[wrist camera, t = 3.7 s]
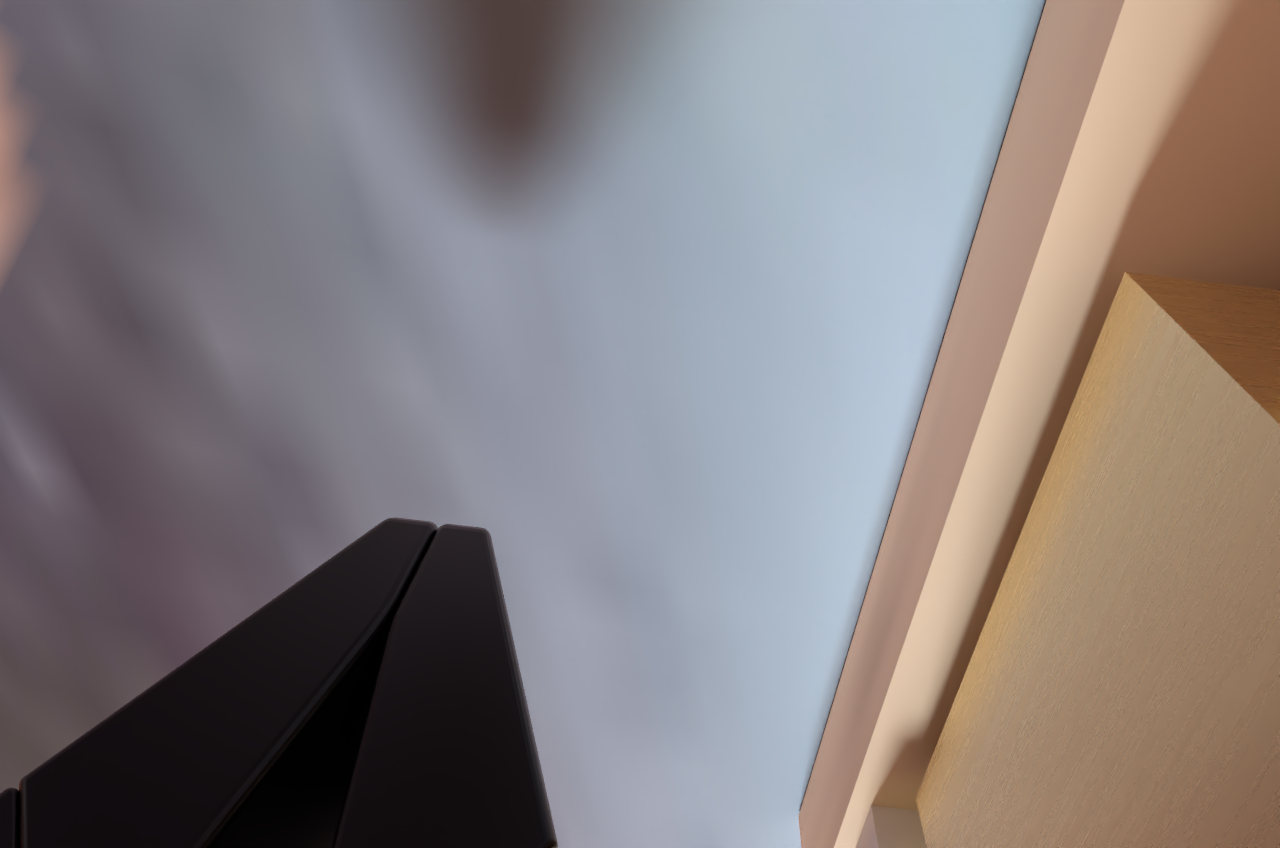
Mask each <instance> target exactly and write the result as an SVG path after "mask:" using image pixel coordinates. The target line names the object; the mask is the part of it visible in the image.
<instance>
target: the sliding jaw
mask: <svg viewBox="0 0 1280 848" xmlns="http://www.w3.org/2000/svg"><path fill="white" fill-rule="evenodd" d="M916 802H917V807H918V811H919V816H920V820H921V824H922V829H923V833H924V838H925V842H926V846H927V848H1280V291H1279V290H1271V289H1263V288H1255V287H1247V286H1238V285H1230V284H1222V283H1214V282H1206V281H1197V280H1189V279H1181V278H1173V277H1165V276H1157V275H1148V274H1140V273H1132V272H1125V273H1124V275H1123V278H1122V280H1121V283H1120V285H1119V288H1118V290H1117V293H1116V295H1115V298H1114V300H1113V303H1112V305H1111V308H1110V310H1109V313H1108V315H1107V318H1106V320H1105V323H1104V325H1103V328H1102V330H1101V333H1100V336H1099V338H1098V341H1097V343H1096V346H1095V348H1094V351H1093V353H1092V356H1091V358H1090V361H1089V363H1088V366H1087V368H1086V371H1085V373H1084V376H1083V378H1082V381H1081V383H1080V386H1079V388H1078V391H1077V393H1076V396H1075V398H1074V401H1073V403H1072V406H1071V408H1070V411H1069V413H1068V416H1067V418H1066V421H1065V423H1064V426H1063V429H1062V431H1061V434H1060V436H1059V439H1058V441H1057V444H1056V446H1055V449H1054V451H1053V454H1052V456H1051V459H1050V461H1049V464H1048V466H1047V469H1046V471H1045V474H1044V476H1043V479H1042V481H1041V484H1040V486H1039V489H1038V491H1037V494H1036V496H1035V499H1034V501H1033V504H1032V506H1031V509H1030V511H1029V514H1028V516H1027V519H1026V522H1025V524H1024V527H1023V529H1022V532H1021V534H1020V537H1019V539H1018V542H1017V544H1016V547H1015V549H1014V552H1013V554H1012V557H1011V559H1010V562H1009V564H1008V567H1007V569H1006V572H1005V574H1004V577H1003V579H1002V582H1001V584H1000V587H999V589H998V592H997V594H996V597H995V599H994V602H993V604H992V607H991V610H990V612H989V615H988V617H987V620H986V622H985V625H984V627H983V630H982V632H981V635H980V637H979V640H978V642H977V645H976V647H975V650H974V652H973V655H972V657H971V660H970V662H969V665H968V667H967V670H966V672H965V675H964V677H963V680H962V682H961V685H960V687H959V690H958V692H957V695H956V697H955V700H954V703H953V705H952V708H951V710H950V713H949V715H948V718H947V720H946V723H945V725H944V728H943V730H942V733H941V735H940V738H939V740H938V743H937V745H936V748H935V750H934V753H933V755H932V758H931V760H930V763H929V765H928V768H927V770H926V773H925V775H924V778H923V780H922V783H921V785H920V788H919V790H918V793H917V796H916Z"/></svg>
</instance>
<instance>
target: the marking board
mask: <svg viewBox="0 0 1280 848" xmlns="http://www.w3.org/2000/svg"><path fill="white" fill-rule="evenodd" d="M1125 272H1132V273H1140V274H1148V275H1157V276H1165V277H1173V278H1181V279H1189V280H1197V281H1206V282H1214V283H1222V284H1230V285H1238V286H1247V287H1255V288H1263V289H1271V290H1279V291H1280V0H1046V4H1045V7H1044V10H1043V13H1042V17H1041V20H1040V23H1039V27H1038V30H1037V33H1036V36H1035V40H1034V43H1033V46H1032V50H1031V53H1030V56H1029V59H1028V63H1027V66H1026V69H1025V73H1024V76H1023V79H1022V83H1021V86H1020V89H1019V92H1018V96H1017V99H1016V102H1015V106H1014V109H1013V112H1012V115H1011V119H1010V122H1009V125H1008V129H1007V132H1006V135H1005V138H1004V142H1003V145H1002V148H1001V152H1000V155H999V158H998V162H997V165H996V168H995V171H994V175H993V178H992V181H991V185H990V188H989V191H988V194H987V198H986V201H985V204H984V208H983V211H982V214H981V218H980V221H979V224H978V227H977V231H976V234H975V237H974V241H973V244H972V247H971V250H970V254H969V257H968V260H967V264H966V267H965V270H964V273H963V277H962V280H961V283H960V287H959V290H958V293H957V297H956V300H955V303H954V306H953V310H952V313H951V316H950V320H949V323H948V326H947V329H946V333H945V336H944V339H943V343H942V346H941V349H940V352H939V356H938V359H937V362H936V366H935V369H934V372H933V376H932V379H931V382H930V385H929V389H928V392H927V395H926V399H925V402H924V405H923V408H922V412H921V415H920V418H919V422H918V425H917V428H916V431H915V435H914V438H913V441H912V445H911V448H910V451H909V455H908V458H907V461H906V464H905V468H904V471H903V474H902V478H901V481H900V484H899V487H898V491H897V494H896V497H895V501H894V504H893V507H892V510H891V514H890V517H889V520H888V524H887V527H886V530H885V534H884V537H883V540H882V543H881V547H880V550H879V553H878V557H877V560H876V563H875V566H874V570H873V573H872V576H871V580H870V583H869V586H868V589H867V593H866V596H865V599H864V603H863V606H862V609H861V613H860V616H859V619H858V622H857V626H856V629H855V632H854V636H853V639H852V642H851V645H850V649H849V652H848V655H847V659H846V662H845V665H844V668H843V672H842V675H841V678H840V682H839V685H838V688H837V692H836V695H835V698H834V701H833V705H832V708H831V711H830V715H829V718H828V721H827V724H826V728H825V731H824V734H823V738H822V741H821V744H820V747H819V751H818V754H817V757H816V761H815V764H814V767H813V771H812V774H811V777H810V780H809V784H808V787H807V790H806V794H805V797H804V800H803V803H802V807H801V810H800V813H799V827H800V836H801V846H802V848H927V846H926V842H925V838H924V833H923V829H922V824H921V820H920V816H919V811H918V807H917V802H916V796H917V793H918V790H919V788H920V785H921V783H922V780H923V778H924V775H925V773H926V770H927V768H928V765H929V763H930V760H931V758H932V755H933V753H934V750H935V748H936V745H937V743H938V740H939V738H940V735H941V733H942V730H943V728H944V725H945V723H946V720H947V718H948V715H949V713H950V710H951V708H952V705H953V703H954V700H955V697H956V695H957V692H958V690H959V687H960V685H961V682H962V680H963V677H964V675H965V672H966V670H967V667H968V665H969V662H970V660H971V657H972V655H973V652H974V650H975V647H976V645H977V642H978V640H979V637H980V635H981V632H982V630H983V627H984V625H985V622H986V620H987V617H988V615H989V612H990V610H991V607H992V604H993V602H994V599H995V597H996V594H997V592H998V589H999V587H1000V584H1001V582H1002V579H1003V577H1004V574H1005V572H1006V569H1007V567H1008V564H1009V562H1010V559H1011V557H1012V554H1013V552H1014V549H1015V547H1016V544H1017V542H1018V539H1019V537H1020V534H1021V532H1022V529H1023V527H1024V524H1025V522H1026V519H1027V516H1028V514H1029V511H1030V509H1031V506H1032V504H1033V501H1034V499H1035V496H1036V494H1037V491H1038V489H1039V486H1040V484H1041V481H1042V479H1043V476H1044V474H1045V471H1046V469H1047V466H1048V464H1049V461H1050V459H1051V456H1052V454H1053V451H1054V449H1055V446H1056V444H1057V441H1058V439H1059V436H1060V434H1061V431H1062V429H1063V426H1064V423H1065V421H1066V418H1067V416H1068V413H1069V411H1070V408H1071V406H1072V403H1073V401H1074V398H1075V396H1076V393H1077V391H1078V388H1079V386H1080V383H1081V381H1082V378H1083V376H1084V373H1085V371H1086V368H1087V366H1088V363H1089V361H1090V358H1091V356H1092V353H1093V351H1094V348H1095V346H1096V343H1097V341H1098V338H1099V336H1100V333H1101V330H1102V328H1103V325H1104V323H1105V320H1106V318H1107V315H1108V313H1109V310H1110V308H1111V305H1112V303H1113V300H1114V298H1115V295H1116V293H1117V290H1118V288H1119V285H1120V283H1121V280H1122V278H1123V275H1124V273H1125Z"/></svg>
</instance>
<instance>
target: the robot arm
mask: <svg viewBox="0 0 1280 848" xmlns="http://www.w3.org/2000/svg"><path fill="white" fill-rule="evenodd" d="M557 847H558V843H557V839H556V834H555V830H554V825H553V820H552V816H551V811H550V807H549V802H548V797H547V793H546V788H545V784H544V779H543V774H542V770H541V765H540V761H539V756H538V751H537V747H536V742H535V738H534V733H533V728H532V724H531V719H530V715H529V710H528V706H527V701H526V696H525V692H524V687H523V683H522V678H521V673H520V669H519V664H518V660H517V655H516V650H515V646H514V641H513V637H512V632H511V627H510V623H509V618H508V614H507V609H506V604H505V600H504V595H503V591H502V586H501V581H500V577H499V572H498V568H497V563H496V558H495V554H494V549H493V545H492V540H491V536H490V533H489V532H488V531H487V530H486V529H484V528H479V527H470V526H462V525H453V524H445V525H443V526H440V527H439V529H438V527H437V526H436V525H435V524H434V523H432V522H428V521H420V520H411V519H403V518H389V519H386V520H384V521H383V522H381V523H380V524H378V525H377V526H375V527H374V528H373V529H371V530H370V531H368V532H367V533H366V534H364V535H363V536H361V537H360V538H359V539H357V540H356V541H354V542H353V543H352V544H350V545H349V546H347V547H346V548H345V549H343V550H342V551H340V552H339V553H338V554H336V555H335V556H333V557H332V558H331V559H329V560H328V561H326V562H325V563H324V564H322V565H321V566H319V567H318V568H317V569H315V570H314V571H312V572H311V573H310V574H308V575H307V576H305V577H304V578H302V579H301V580H300V581H298V582H297V583H295V584H294V585H293V586H291V587H290V588H288V589H287V590H286V591H284V592H283V593H281V594H280V595H279V596H277V597H276V598H274V599H273V600H272V601H270V602H269V603H267V604H266V605H265V606H263V607H262V608H260V609H259V610H258V611H256V612H255V613H253V614H252V615H251V616H249V617H248V618H246V619H245V620H244V621H242V622H241V623H239V624H238V625H237V626H235V627H234V628H232V629H231V630H230V631H228V632H227V633H225V634H224V635H223V636H221V637H220V638H218V639H217V640H216V641H214V642H213V643H211V644H210V645H209V646H207V647H206V648H204V649H203V650H202V651H200V652H199V653H197V654H196V655H195V656H193V657H192V658H190V659H189V660H188V661H186V662H185V663H183V664H182V665H181V666H179V667H178V668H176V669H175V670H174V671H172V672H171V673H169V674H168V675H166V676H165V677H164V678H162V679H161V680H159V681H158V682H157V683H155V684H154V685H152V686H151V687H150V688H148V689H147V690H145V691H144V692H143V693H141V694H140V695H138V696H137V697H136V698H134V699H133V700H131V701H130V702H129V703H127V704H126V705H124V706H123V707H122V708H120V709H119V710H117V711H116V712H115V713H113V714H112V715H110V716H109V717H108V718H106V719H105V720H103V721H102V722H101V723H99V724H98V725H96V726H95V727H94V728H92V729H91V730H89V731H88V732H87V733H85V734H84V735H82V736H81V737H80V738H78V739H77V740H75V741H74V742H73V743H71V744H70V745H68V746H67V747H66V748H64V749H63V750H61V751H60V752H59V753H57V754H56V755H54V756H53V757H52V758H50V759H49V760H47V761H46V762H45V763H43V764H42V765H40V766H39V767H37V768H36V769H35V770H33V771H32V772H30V773H29V774H28V775H26V776H25V777H23V778H22V779H21V781H20V783H19V791H18V790H17V789H15V788H8V789H6V790H5V791H3V792H2V793H0V848H557Z"/></svg>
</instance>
